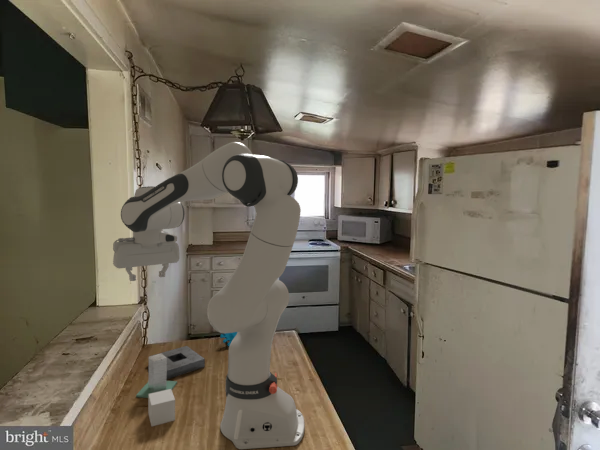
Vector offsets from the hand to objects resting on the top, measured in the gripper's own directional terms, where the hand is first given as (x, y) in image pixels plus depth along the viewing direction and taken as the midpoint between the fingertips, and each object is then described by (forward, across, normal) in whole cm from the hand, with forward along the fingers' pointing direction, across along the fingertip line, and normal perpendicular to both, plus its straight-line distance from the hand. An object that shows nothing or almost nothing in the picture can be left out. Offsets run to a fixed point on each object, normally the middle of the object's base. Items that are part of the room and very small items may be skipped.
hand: (147, 278), depth 117 cm
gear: (+33, +36, +5) cm, 49 cm away
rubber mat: (+33, -1, -11) cm, 35 cm away
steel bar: (+32, -1, -11) cm, 34 cm away
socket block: (+33, +11, 0) cm, 35 cm away
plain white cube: (+33, -5, -25) cm, 42 cm away
